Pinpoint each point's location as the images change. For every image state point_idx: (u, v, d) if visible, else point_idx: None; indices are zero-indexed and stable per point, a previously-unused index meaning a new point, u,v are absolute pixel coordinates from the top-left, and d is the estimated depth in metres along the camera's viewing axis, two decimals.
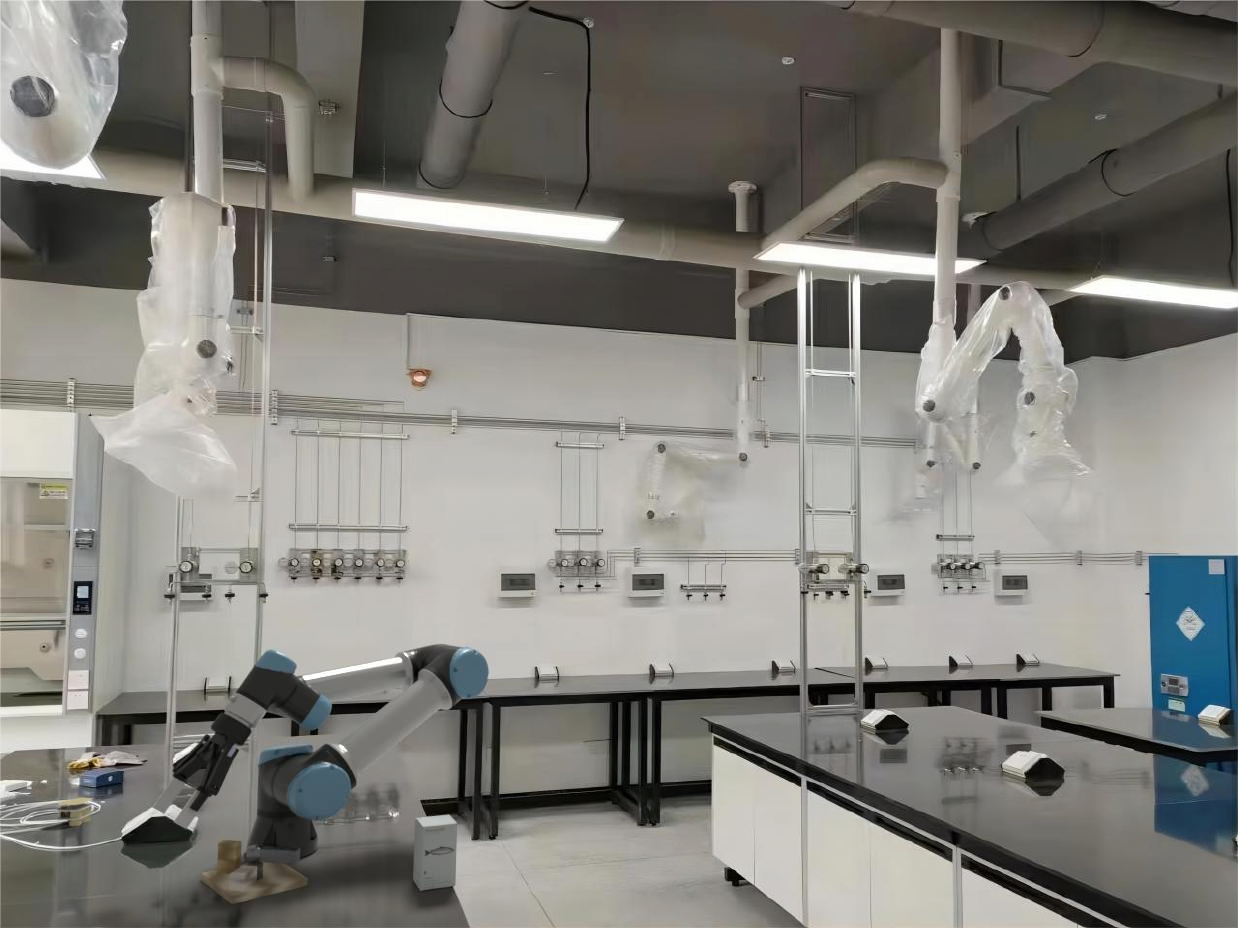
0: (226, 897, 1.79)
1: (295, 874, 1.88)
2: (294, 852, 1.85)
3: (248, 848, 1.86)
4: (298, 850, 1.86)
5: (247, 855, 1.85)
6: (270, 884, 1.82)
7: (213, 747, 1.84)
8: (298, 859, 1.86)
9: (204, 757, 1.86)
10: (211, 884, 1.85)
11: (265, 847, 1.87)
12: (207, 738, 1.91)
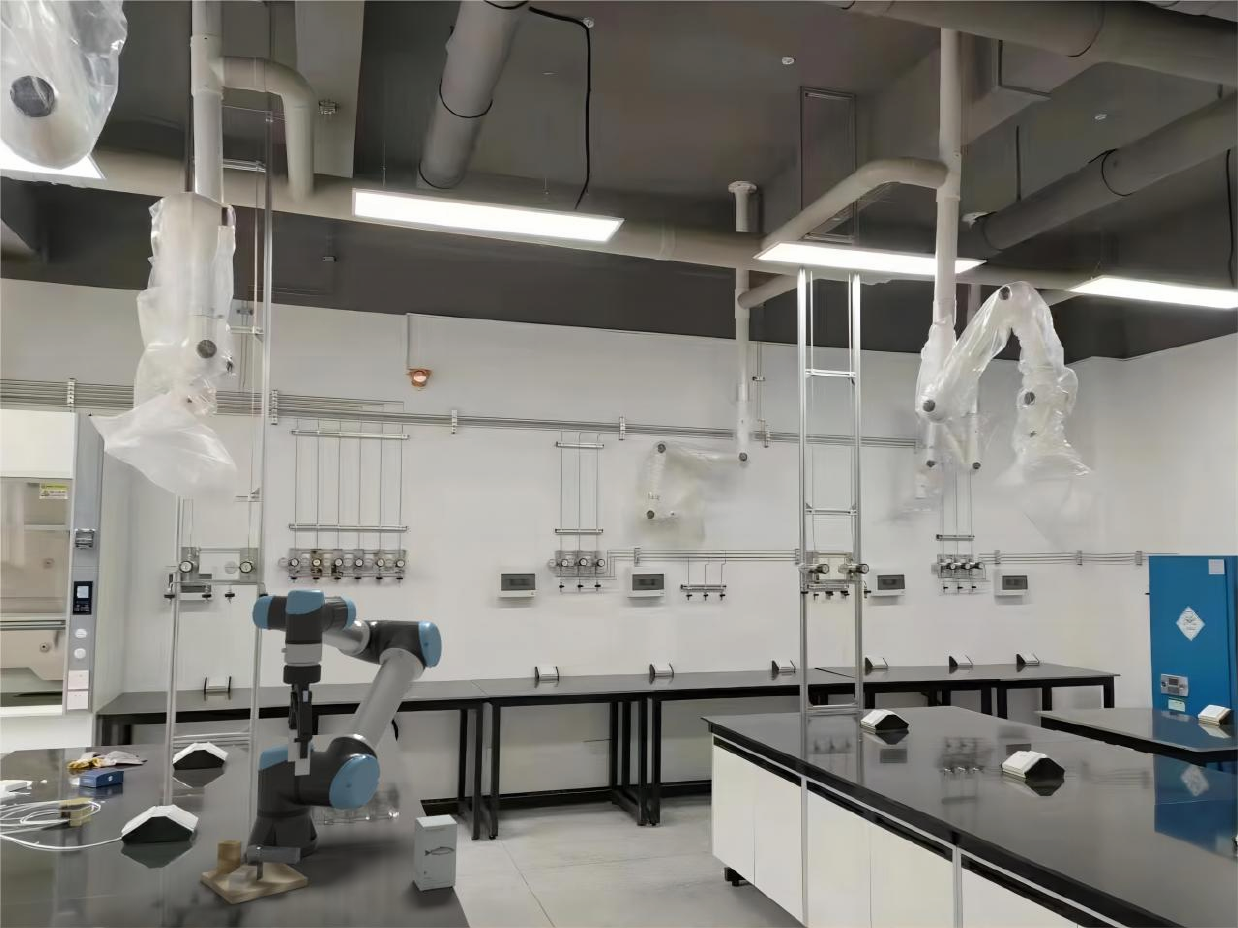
0: (226, 897, 1.79)
1: (295, 874, 1.88)
2: (294, 852, 1.85)
3: (248, 848, 1.86)
4: (298, 850, 1.86)
5: (247, 855, 1.85)
6: (270, 884, 1.82)
7: (293, 698, 1.90)
8: (298, 859, 1.86)
9: None
10: (211, 884, 1.85)
11: (265, 847, 1.87)
12: (294, 687, 1.98)
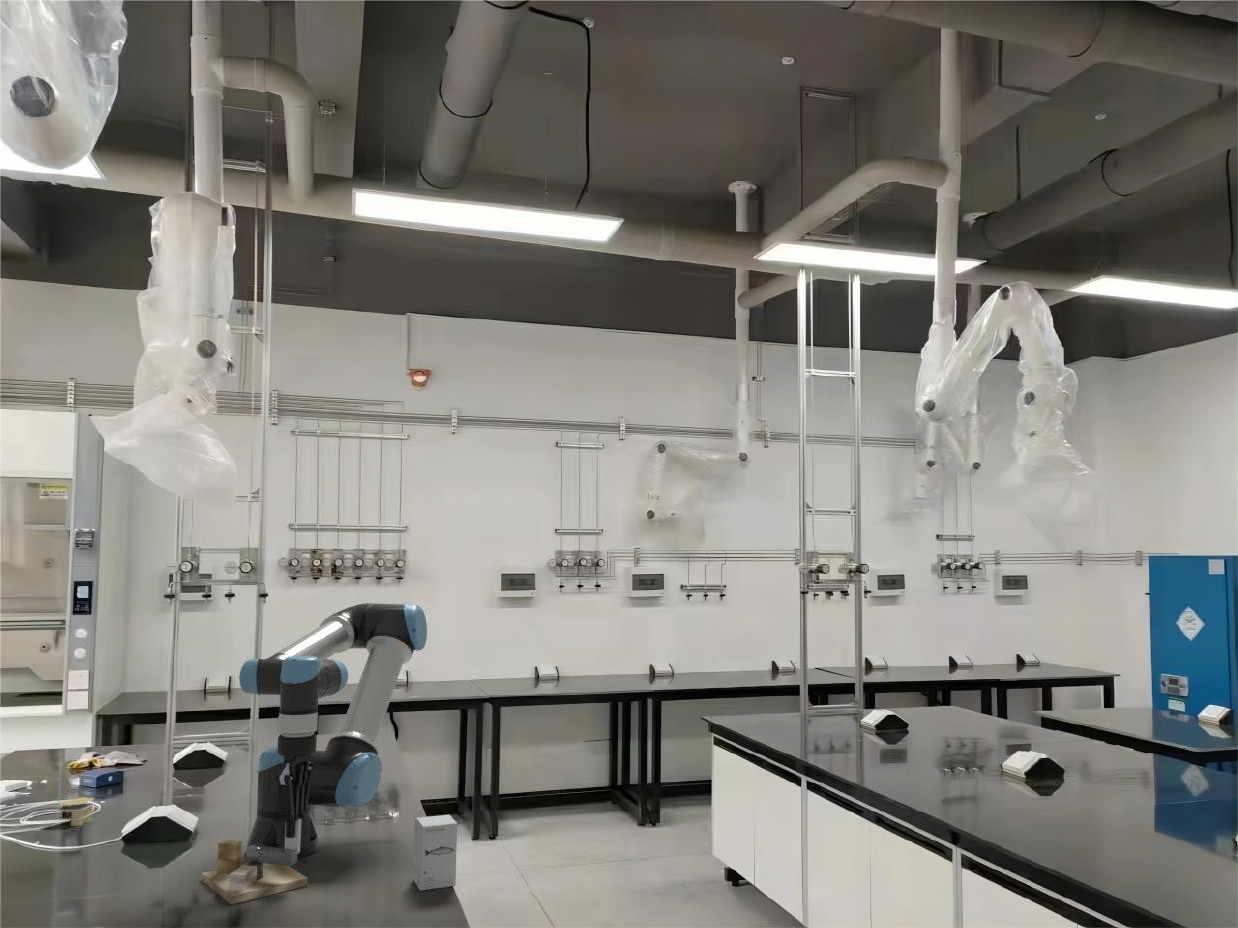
0: (226, 897, 1.79)
1: (295, 874, 1.88)
2: (290, 854, 1.83)
3: (248, 848, 1.86)
4: (294, 852, 1.84)
5: (246, 855, 1.86)
6: (270, 884, 1.82)
7: None
8: (295, 861, 1.84)
9: None
10: (211, 884, 1.85)
11: (264, 847, 1.86)
12: None
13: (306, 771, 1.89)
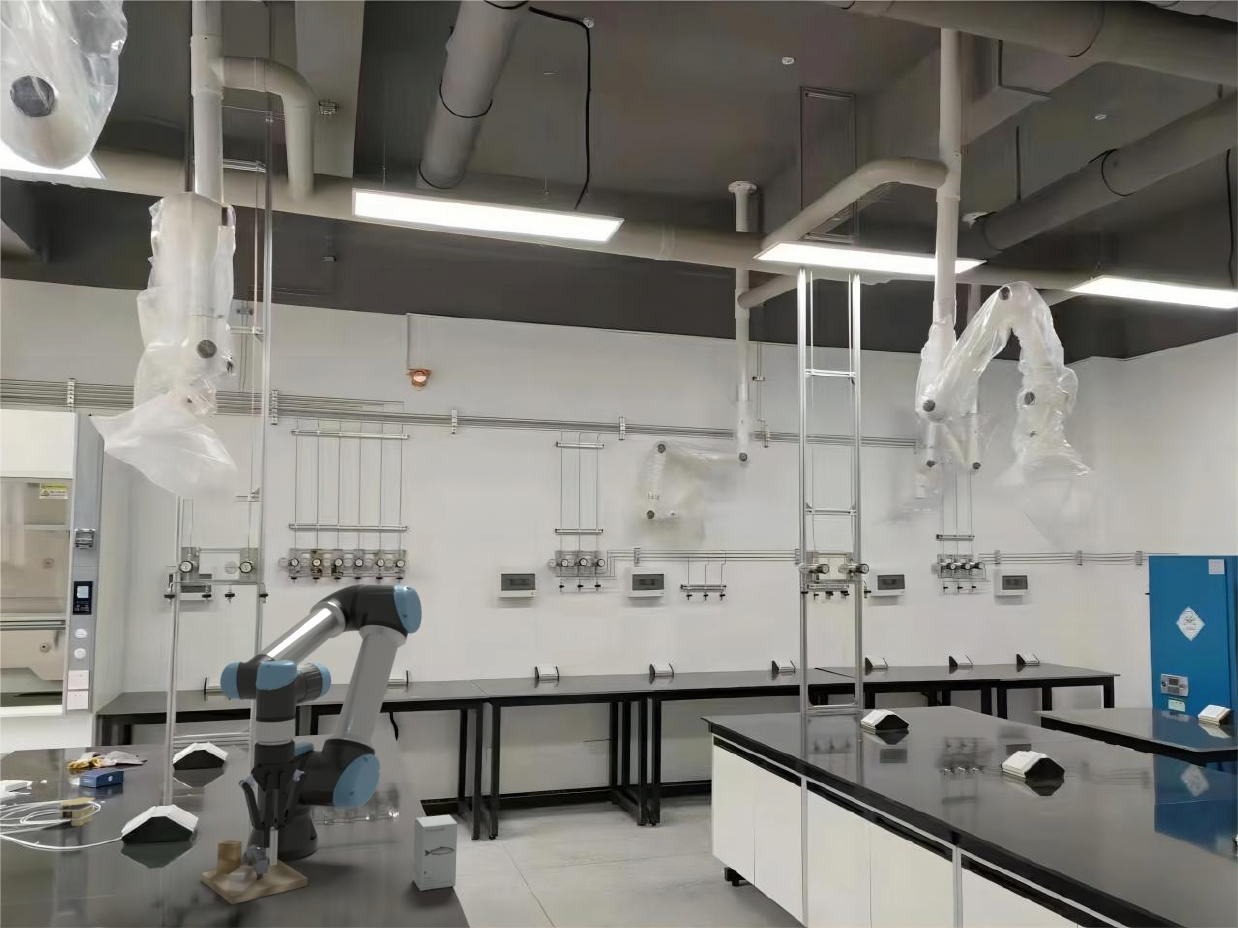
0: (226, 897, 1.79)
1: (295, 874, 1.88)
2: (257, 862, 1.79)
3: (250, 846, 1.87)
4: (263, 861, 1.79)
5: None
6: (270, 884, 1.82)
7: None
8: (264, 871, 1.79)
9: None
10: (211, 884, 1.85)
11: (258, 849, 1.85)
12: None
13: (282, 781, 1.82)
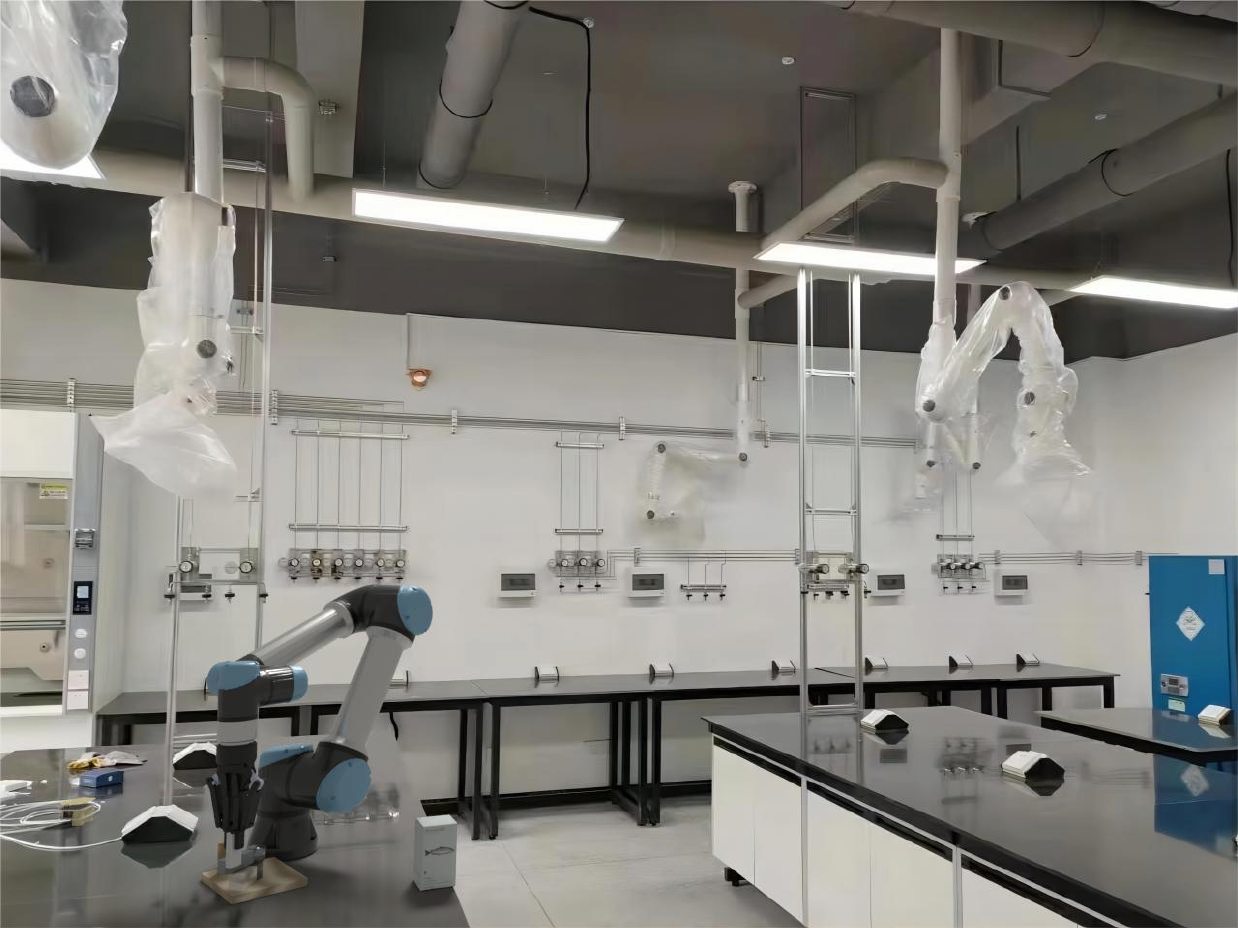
0: (226, 897, 1.79)
1: (295, 874, 1.88)
2: None
3: (256, 845, 1.88)
4: (222, 862, 1.78)
5: None
6: (270, 884, 1.82)
7: None
8: (222, 872, 1.78)
9: None
10: (211, 884, 1.85)
11: (249, 850, 1.85)
12: None
13: (234, 784, 1.79)
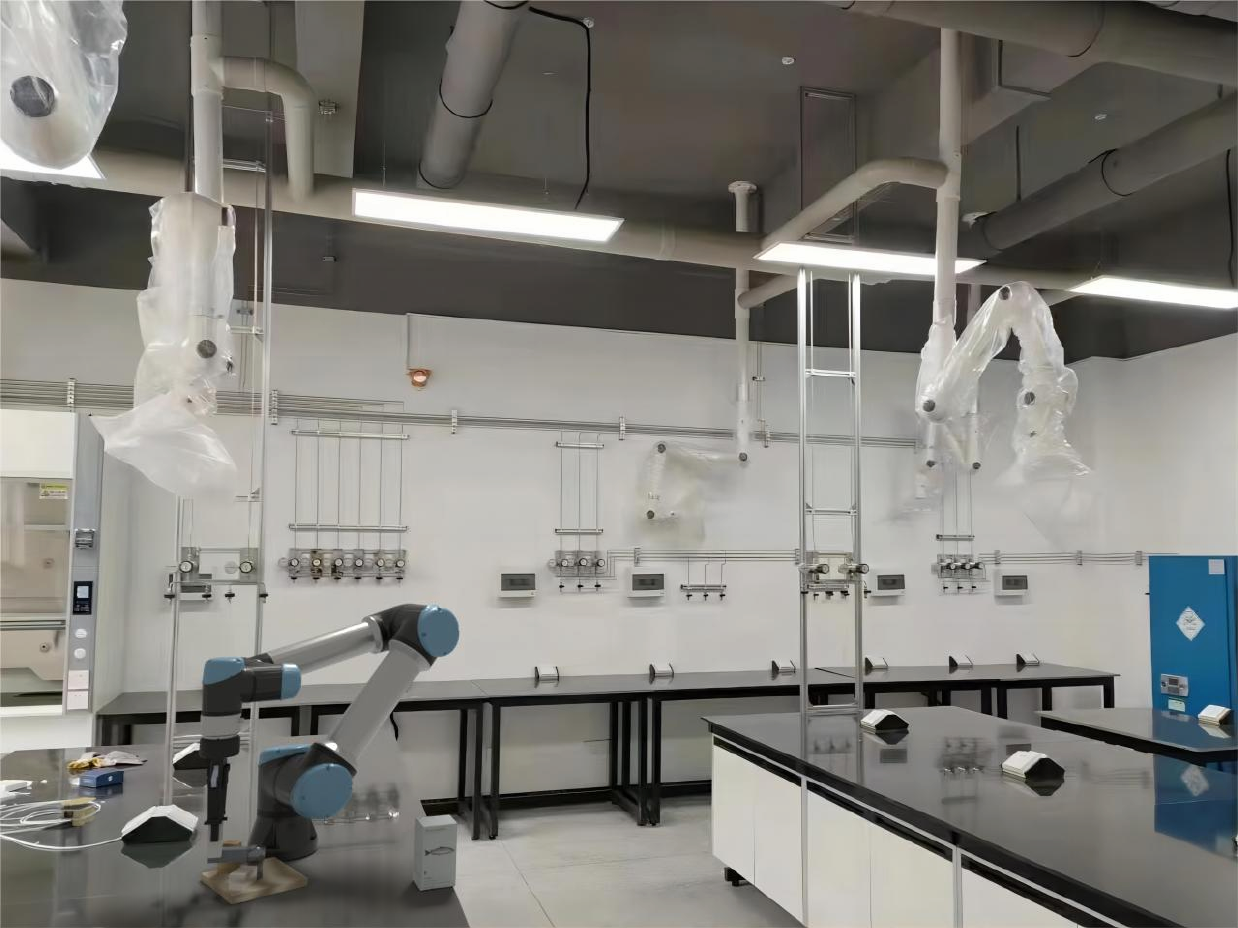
0: (226, 897, 1.79)
1: (295, 874, 1.88)
2: None
3: (262, 845, 1.88)
4: None
5: None
6: (270, 884, 1.82)
7: None
8: None
9: None
10: (211, 884, 1.85)
11: (245, 847, 1.86)
12: None
13: (208, 777, 1.84)
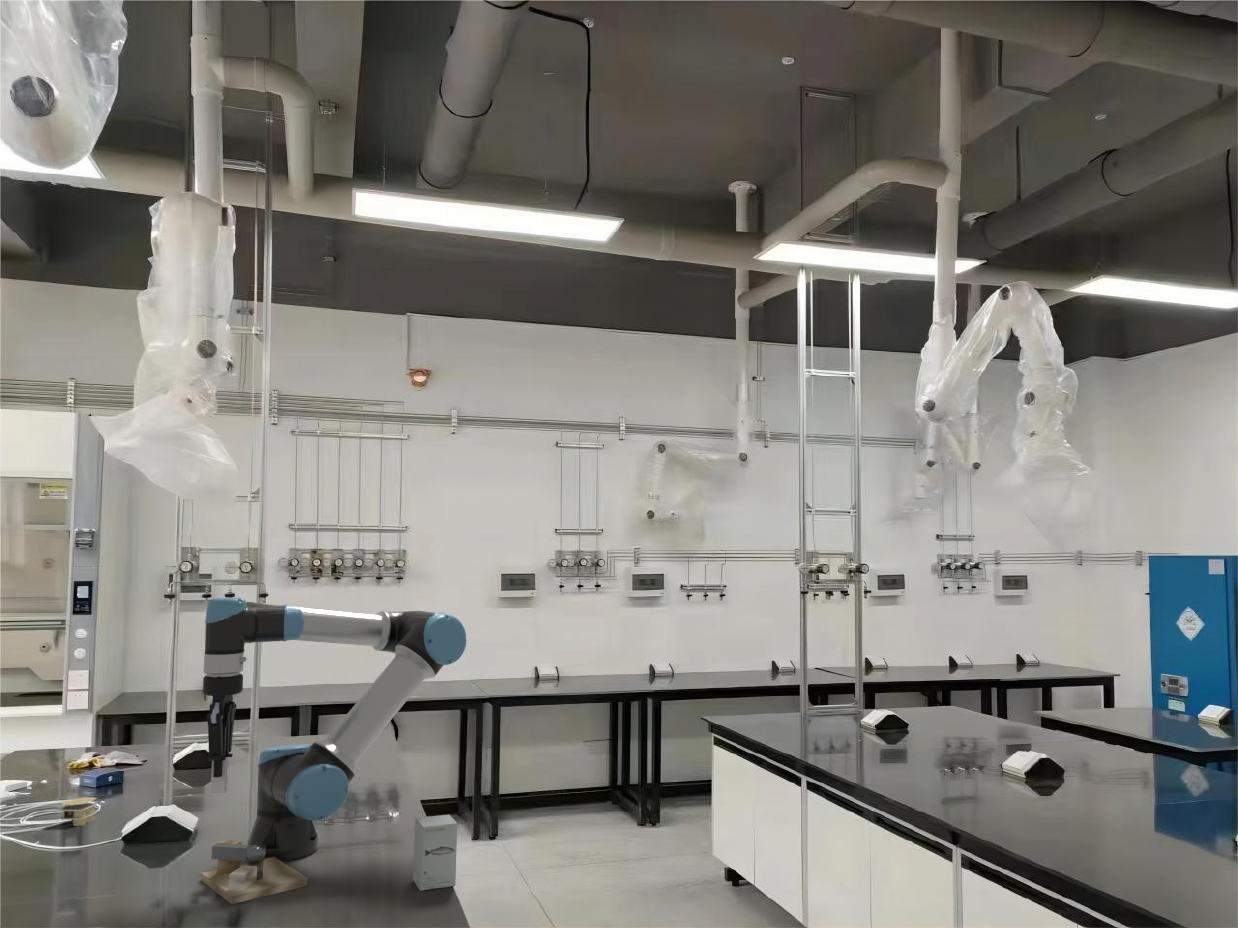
0: (226, 897, 1.79)
1: (295, 874, 1.88)
2: None
3: (263, 846, 1.88)
4: None
5: None
6: (270, 884, 1.82)
7: None
8: None
9: None
10: (211, 884, 1.85)
11: (246, 846, 1.87)
12: None
13: None
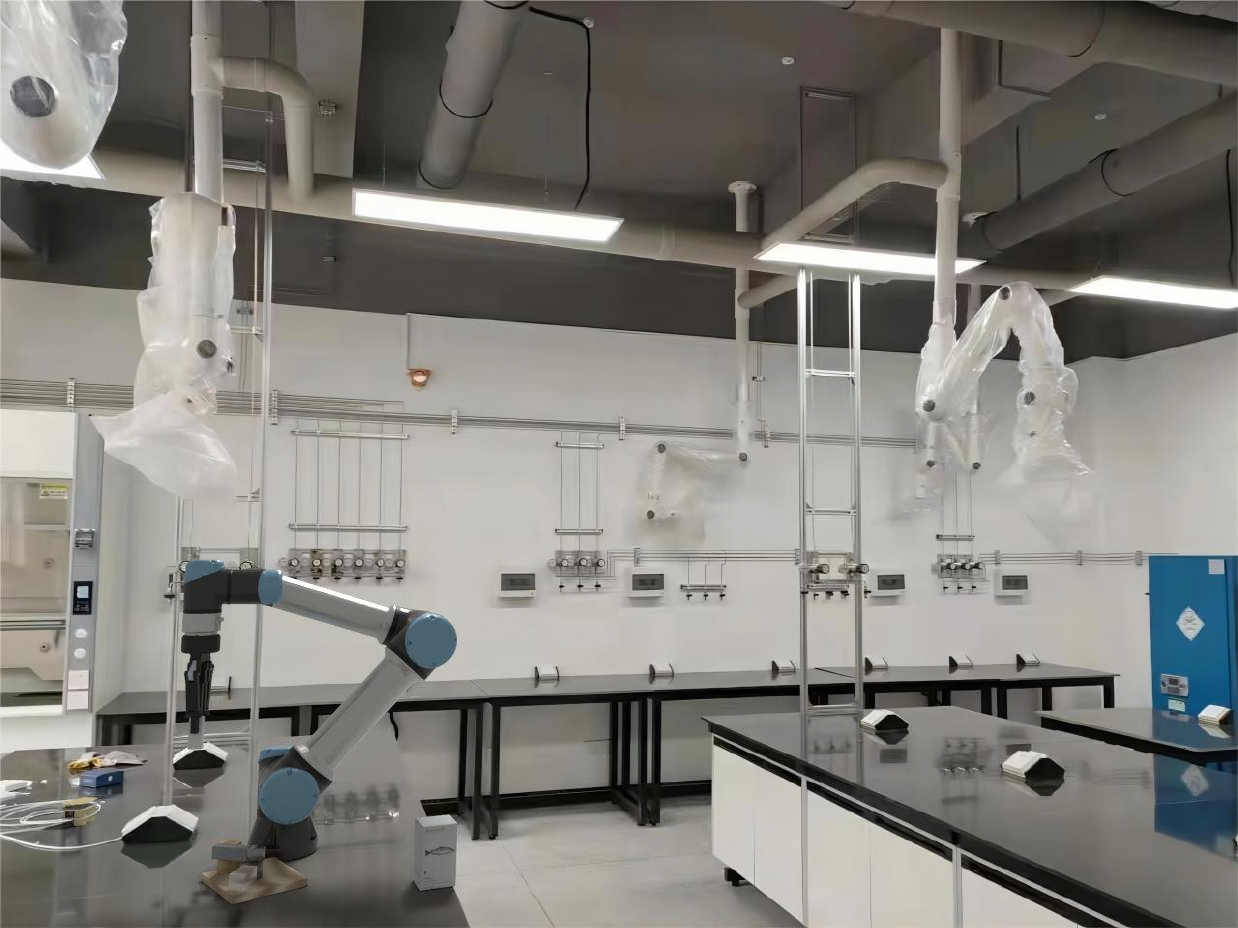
0: (226, 897, 1.79)
1: (295, 874, 1.88)
2: None
3: (263, 846, 1.88)
4: None
5: None
6: (270, 884, 1.82)
7: None
8: None
9: None
10: (211, 884, 1.85)
11: (246, 846, 1.87)
12: None
13: None
